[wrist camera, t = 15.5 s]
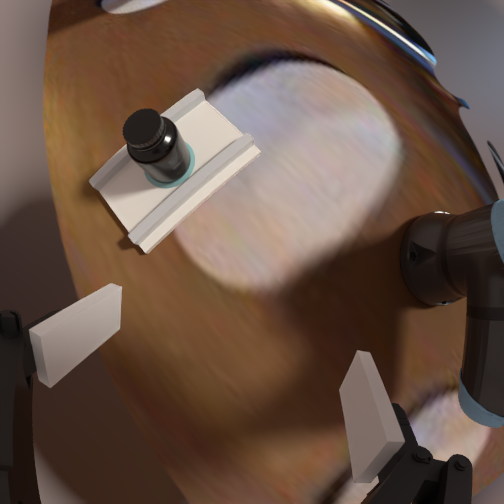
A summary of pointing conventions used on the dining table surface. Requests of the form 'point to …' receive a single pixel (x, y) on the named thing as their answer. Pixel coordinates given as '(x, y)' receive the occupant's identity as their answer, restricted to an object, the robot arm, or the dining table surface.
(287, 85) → the dining table surface
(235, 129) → the rail cradle
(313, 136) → the dining table surface
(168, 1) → the dining table surface
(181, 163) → the supplement bottle
